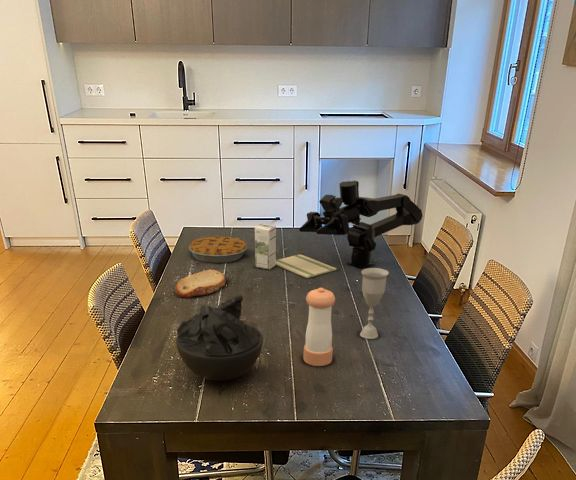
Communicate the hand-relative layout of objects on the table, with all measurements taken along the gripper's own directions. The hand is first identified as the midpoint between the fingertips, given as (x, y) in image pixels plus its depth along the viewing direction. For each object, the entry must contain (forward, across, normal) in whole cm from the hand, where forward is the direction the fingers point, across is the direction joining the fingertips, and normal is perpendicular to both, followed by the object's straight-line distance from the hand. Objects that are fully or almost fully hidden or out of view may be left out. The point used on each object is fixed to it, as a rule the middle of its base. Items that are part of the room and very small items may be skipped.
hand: (308, 231), depth 191 cm
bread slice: (+36, -15, +8) cm, 39 cm away
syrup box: (+7, -20, +12) cm, 24 cm away
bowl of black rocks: (+61, +39, +12) cm, 74 cm away
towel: (-4, -13, +15) cm, 20 cm away
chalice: (+16, +42, +21) cm, 50 cm away
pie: (+14, -40, +8) cm, 43 cm away
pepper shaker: (+37, +46, +17) cm, 61 cm away
